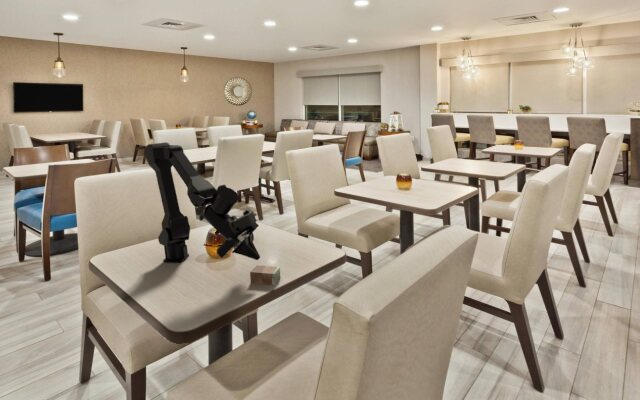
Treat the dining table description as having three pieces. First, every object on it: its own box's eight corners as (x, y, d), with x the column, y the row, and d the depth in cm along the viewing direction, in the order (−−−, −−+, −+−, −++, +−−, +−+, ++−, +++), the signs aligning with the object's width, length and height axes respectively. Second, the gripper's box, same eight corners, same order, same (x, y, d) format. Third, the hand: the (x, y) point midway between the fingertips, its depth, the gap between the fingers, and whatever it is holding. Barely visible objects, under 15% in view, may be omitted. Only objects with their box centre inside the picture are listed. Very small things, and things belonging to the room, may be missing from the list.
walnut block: (250, 271, 122) (274, 273, 120) (256, 265, 127) (279, 267, 125) (250, 283, 123) (274, 285, 121) (257, 275, 127) (280, 277, 126)
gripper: (223, 212, 111) (264, 253, 111) (250, 195, 129) (286, 231, 129) (199, 238, 115) (239, 278, 115) (229, 219, 133) (264, 253, 133)
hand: (259, 258), depth 123 cm, fingers closed
